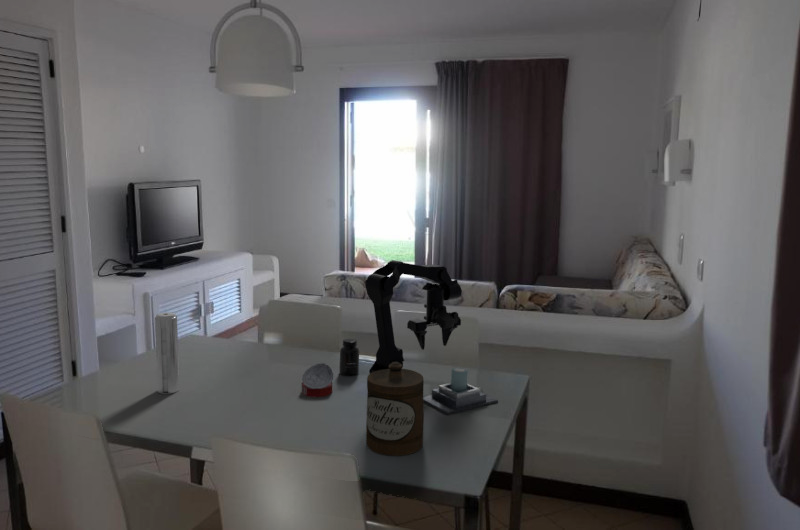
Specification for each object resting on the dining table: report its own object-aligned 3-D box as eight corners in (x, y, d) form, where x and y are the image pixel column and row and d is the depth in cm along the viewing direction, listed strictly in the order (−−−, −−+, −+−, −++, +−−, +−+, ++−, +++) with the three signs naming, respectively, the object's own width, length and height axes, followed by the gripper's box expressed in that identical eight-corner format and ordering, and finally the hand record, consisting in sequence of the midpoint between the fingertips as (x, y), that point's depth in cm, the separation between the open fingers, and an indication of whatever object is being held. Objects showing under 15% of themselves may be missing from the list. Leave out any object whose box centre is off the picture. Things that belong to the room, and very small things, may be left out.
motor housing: (447, 414, 179) (448, 400, 179) (419, 400, 191) (419, 386, 190) (497, 402, 191) (498, 388, 190) (468, 388, 202) (469, 375, 201)
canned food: (332, 404, 198) (345, 381, 195) (308, 409, 191) (321, 385, 187) (314, 381, 205) (326, 358, 201) (290, 385, 197) (301, 361, 194)
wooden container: (356, 450, 155) (357, 366, 152) (379, 428, 169) (380, 351, 166) (411, 460, 150) (413, 374, 147) (430, 437, 164) (432, 358, 161)
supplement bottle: (349, 377, 211) (350, 344, 209) (335, 373, 215) (335, 340, 213) (362, 372, 216) (363, 340, 214) (348, 368, 220) (348, 336, 218)
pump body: (457, 395, 187) (458, 373, 186) (447, 390, 191) (448, 369, 190) (470, 392, 190) (471, 370, 189) (459, 388, 194) (460, 366, 193)
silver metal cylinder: (183, 389, 196) (181, 313, 192) (168, 395, 190) (165, 317, 187) (168, 385, 199) (165, 310, 195) (152, 392, 193) (149, 314, 189)
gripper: (426, 309, 192) (425, 357, 195) (472, 303, 203) (470, 349, 205) (406, 303, 202) (405, 349, 204) (451, 298, 212) (450, 341, 214)
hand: (433, 347), depth 206 cm, fingers open, 9 cm apart
